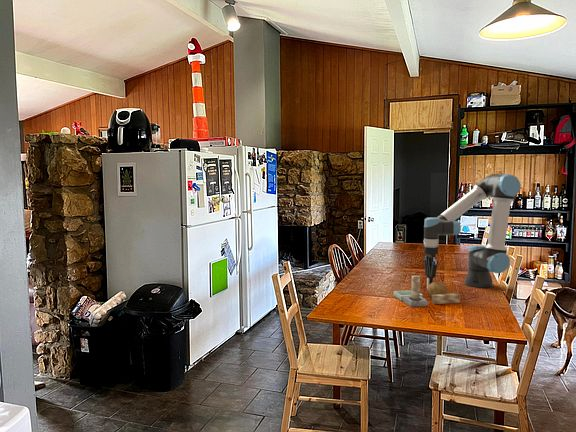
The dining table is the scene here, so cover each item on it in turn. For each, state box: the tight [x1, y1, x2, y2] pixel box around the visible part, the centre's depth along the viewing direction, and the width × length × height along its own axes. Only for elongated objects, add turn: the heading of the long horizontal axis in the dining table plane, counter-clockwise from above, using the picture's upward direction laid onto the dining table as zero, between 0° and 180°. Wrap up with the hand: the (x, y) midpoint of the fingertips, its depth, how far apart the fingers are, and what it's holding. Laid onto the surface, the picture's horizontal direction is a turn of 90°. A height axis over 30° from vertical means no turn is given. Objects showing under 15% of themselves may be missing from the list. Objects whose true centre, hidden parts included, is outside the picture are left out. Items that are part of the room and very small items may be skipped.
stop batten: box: [431, 292, 461, 305], centre depth 231 cm, size 14×3×4 cm, turn 99°
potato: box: [426, 280, 448, 297], centre depth 239 cm, size 10×14×8 cm
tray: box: [393, 289, 424, 302], centre depth 240 cm, size 12×10×2 cm
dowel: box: [411, 274, 421, 301], centre depth 229 cm, size 4×4×14 cm
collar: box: [402, 296, 429, 307], centre depth 229 cm, size 9×9×2 cm
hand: (429, 289), depth 247 cm, fingers closed
